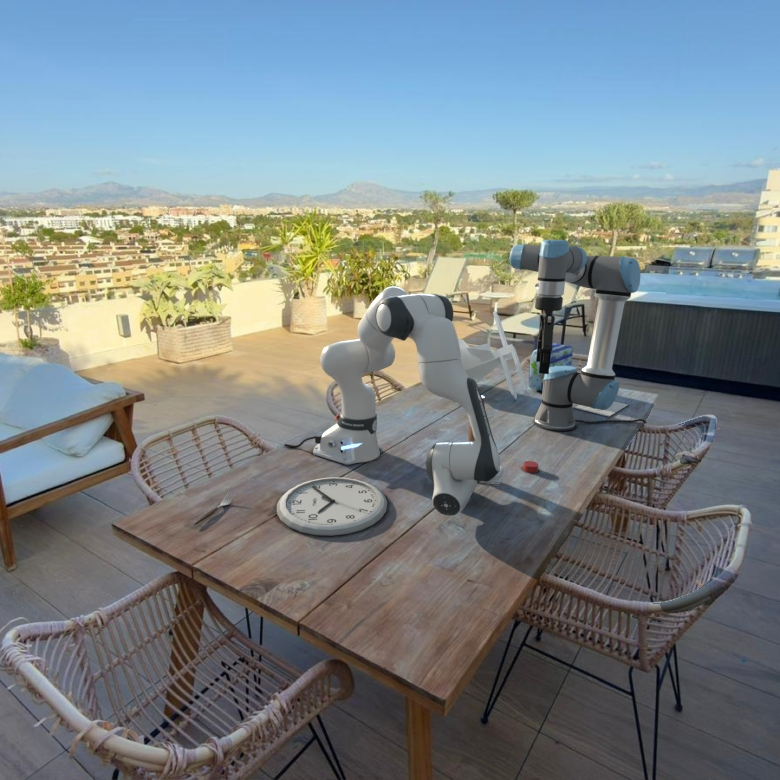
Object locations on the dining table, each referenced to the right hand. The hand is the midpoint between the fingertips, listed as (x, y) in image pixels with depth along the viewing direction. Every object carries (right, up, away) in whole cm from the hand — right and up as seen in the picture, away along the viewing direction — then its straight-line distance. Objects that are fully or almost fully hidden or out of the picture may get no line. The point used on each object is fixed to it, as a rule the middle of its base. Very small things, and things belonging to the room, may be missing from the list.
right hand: (542, 367), depth 156 cm
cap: (-1, -30, +9) cm, 32 cm away
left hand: (-21, -28, 0) cm, 34 cm away
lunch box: (+31, -6, +96) cm, 101 cm away
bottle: (-20, -33, +5) cm, 39 cm away
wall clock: (-61, -38, -13) cm, 73 cm away
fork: (-92, -39, -18) cm, 101 cm away
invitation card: (+46, -14, +70) cm, 85 cm away
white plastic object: (-4, -8, +87) cm, 87 cm away
